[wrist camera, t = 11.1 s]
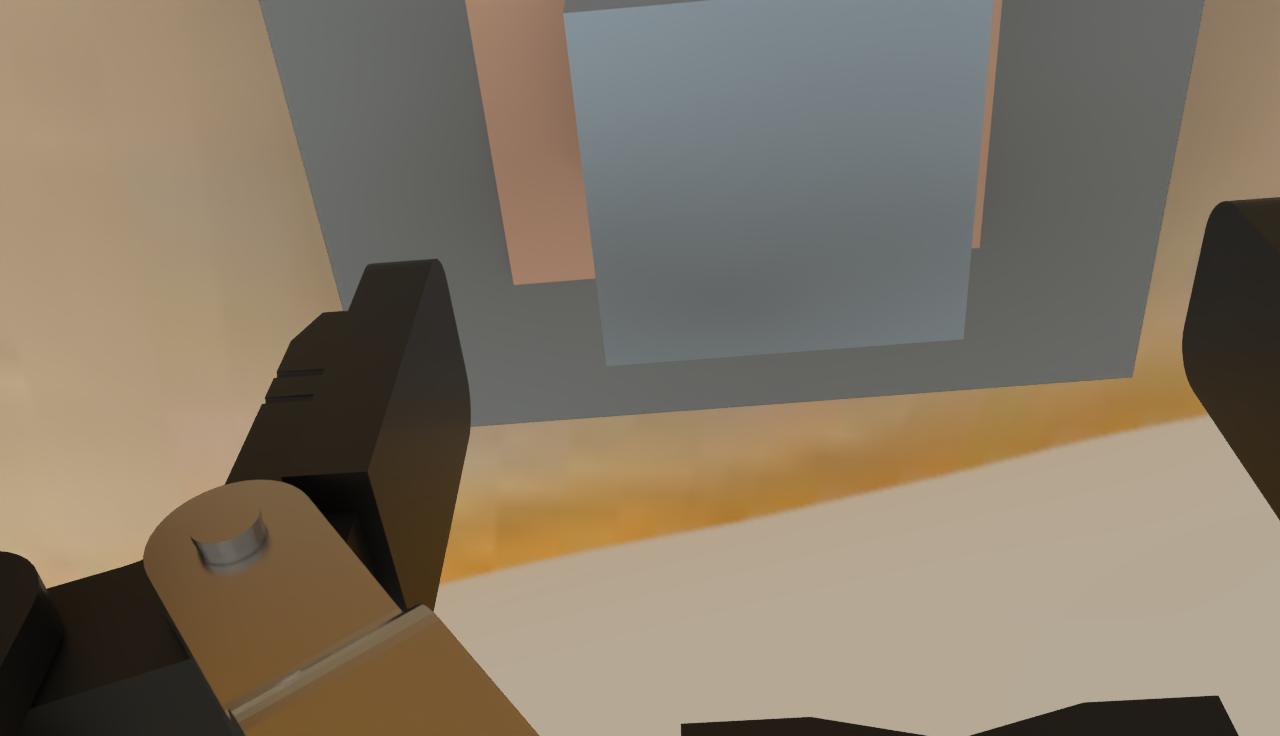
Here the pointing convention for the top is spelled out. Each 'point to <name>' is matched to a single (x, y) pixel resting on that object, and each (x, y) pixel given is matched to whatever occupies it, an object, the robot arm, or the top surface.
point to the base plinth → (559, 227)
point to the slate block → (778, 170)
